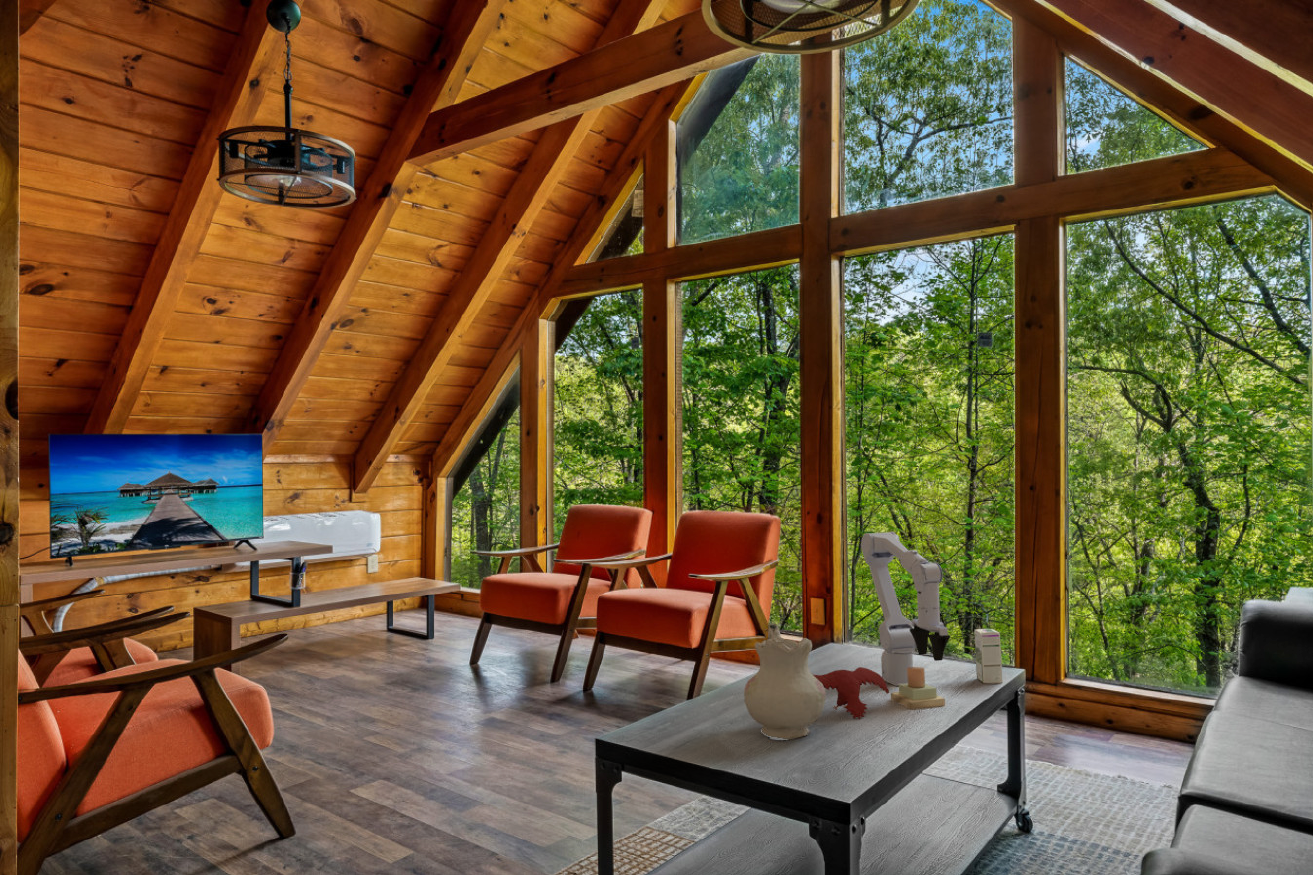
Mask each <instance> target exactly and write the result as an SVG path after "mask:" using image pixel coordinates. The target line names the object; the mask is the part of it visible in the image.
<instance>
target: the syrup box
mask: <svg viewBox="0 0 1313 875" xmlns="http://www.w3.org/2000/svg"><path fill="white" fill-rule="evenodd" d="M974 646H975V648H974V649H975V651H974V652H975V670H976V679H977V680H978V681H980V682H981V683H982V684H1002V683H1003V666H1002V665H1003V664H1002V662H1003V661H1002V649H1001V647H1002V646H1001V633H1000V632H999V631H997V630H996V629H993V628H978V629H974Z"/></svg>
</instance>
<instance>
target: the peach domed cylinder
mask: <svg viewBox="0 0 1313 875" xmlns="http://www.w3.org/2000/svg"><path fill="white" fill-rule="evenodd" d="M925 675H926V674H925V668H924V667H919V666H913V667H908V668H907V677H908V686H910V687H925V684H926V679H925V678H926V677H925Z"/></svg>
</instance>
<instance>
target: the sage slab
mask: <svg viewBox="0 0 1313 875" xmlns="http://www.w3.org/2000/svg"><path fill="white" fill-rule="evenodd" d="M898 692H899V694H901V695H903V696H905V697H907V698H909V699H911V700H920V699H930V698H937V695H938V693H937V687H934V686H932V685H929V684H928V683H925V687H910V686H908V683H905V684H899V686H898Z"/></svg>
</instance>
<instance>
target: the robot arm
mask: <svg viewBox="0 0 1313 875" xmlns="http://www.w3.org/2000/svg"><path fill="white" fill-rule="evenodd" d="M860 548H861V552H862V556H863V558H864V561H865V563H866V564H867V565H868V567H869V571H870V574H871V577H872V582H873V585H874V587H875V591H876V592H875V593H876V595H877V598H878V601H879V602H878V603H879V604H880V609H881V611H882V614H883V619H884V620H883V621H882V622H881V623H880V624H879V626H878V631H879V643H880V645H881V647H882V649H883V652H882V654H881V656H880V658H881V659H880V660H881V663H880V664H881V677H882V678H883V679H884V681H885V682H886V683H888V684H890V685H893V686H894V687H895V686H896V687H899V684H905V683H908V677H907V668H908V667H914V659H913V657H914V656H913V652H915V650H917V653H918V655H921V656H924V655H927V653H928V643H929V642H928V641H930V644H931V648H932V656H933V661H934V662H938V661H943V660H944V659H943V658H944V653H945V650H946V647H947V644H948V642H949V640H950V638H951V635H950V634H949V632H948V627H945V625H944V622H942V621H941V616H940V614H941V613H940V586H939V585H940V583H942V581H943V578H944V573H943V572H944V571H943V569H942V567H941V565H940V564H939V562H935V561H933V562H930V561H928V559H927V558H924V557H923V556H922V555H920V554H919V552H918V550H916V549H911V550H908V549H907V548H906V547H905V546H904V545H903V543H902V542H901V541H900V537H899V535H898V534H896V533H895V532H894V531H889V532H873V533H871V532H870V533H868V532H866V533H864V534H863V535H862V537H861V542H860ZM895 558H896V559H898V560H900V561H899V562H900V566H902V568H903V569H904V570H906V571H907V572H908V573H909V574H911V576H912V581H913V583H914V589H915V591H916V593H917V594H916V596H917V618H912V619H911V620H910V619H909V618H907V617H906V616H904V615H903V614H902V610H901V606H900V604H899V601H898V597H897V594H896V590H895V587H894V583H893V581H892V577H891V574H890V571H889V567H888V564H890V563H891V562H893V560H894V559H895ZM931 632H932V633H931Z"/></svg>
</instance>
